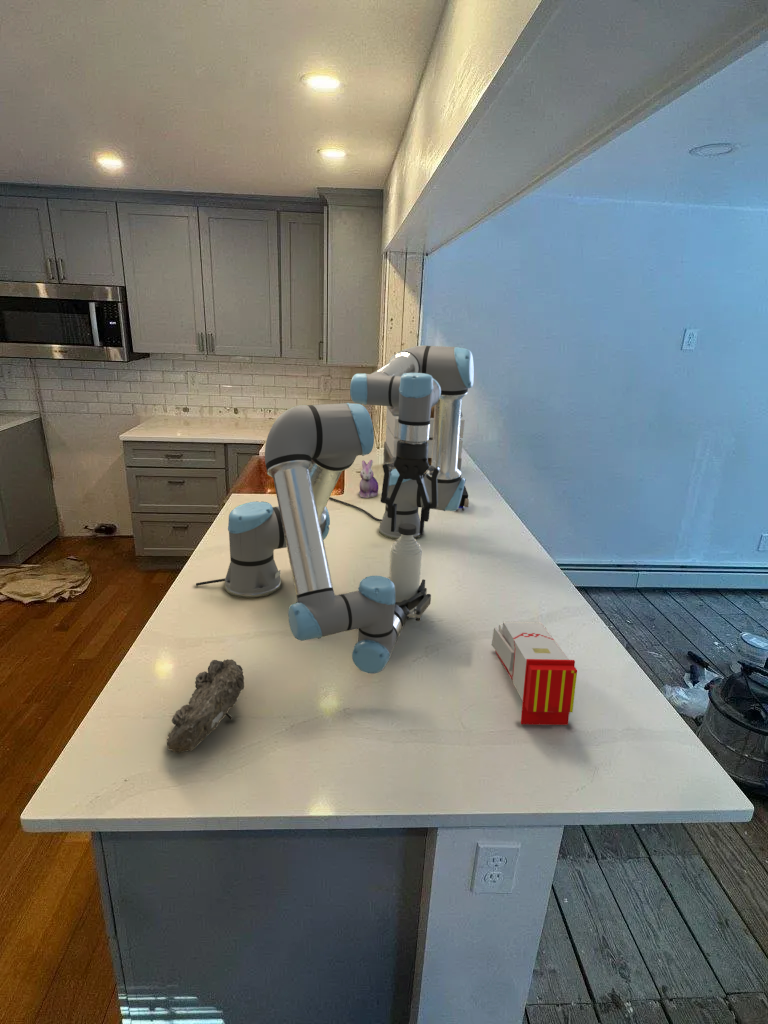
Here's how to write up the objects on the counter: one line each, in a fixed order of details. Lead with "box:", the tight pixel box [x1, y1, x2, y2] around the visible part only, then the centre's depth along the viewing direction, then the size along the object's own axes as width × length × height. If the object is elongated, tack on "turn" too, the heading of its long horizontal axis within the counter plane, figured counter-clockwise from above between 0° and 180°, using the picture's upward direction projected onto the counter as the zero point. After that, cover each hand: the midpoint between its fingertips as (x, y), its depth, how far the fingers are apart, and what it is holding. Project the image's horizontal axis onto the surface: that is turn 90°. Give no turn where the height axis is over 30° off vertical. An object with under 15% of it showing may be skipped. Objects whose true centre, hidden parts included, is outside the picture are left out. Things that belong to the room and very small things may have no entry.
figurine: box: [358, 459, 380, 499], centre depth 237 cm, size 9×10×15 cm
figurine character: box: [455, 485, 470, 512], centre depth 229 cm, size 7×8×15 cm
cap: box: [399, 523, 416, 535], centre depth 141 cm, size 4×4×2 cm
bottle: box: [388, 534, 423, 619], centre depth 145 cm, size 8×8×23 cm
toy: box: [491, 621, 578, 726], centre depth 121 cm, size 12×13×30 cm
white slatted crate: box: [382, 406, 465, 472], centre depth 268 cm, size 34×33×41 cm
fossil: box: [166, 658, 245, 754], centre depth 106 cm, size 22×10×15 cm
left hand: (407, 581), depth 151 cm, fingers closed on bottle, 8 cm apart
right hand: (407, 531), depth 141 cm, fingers open, 6 cm apart
